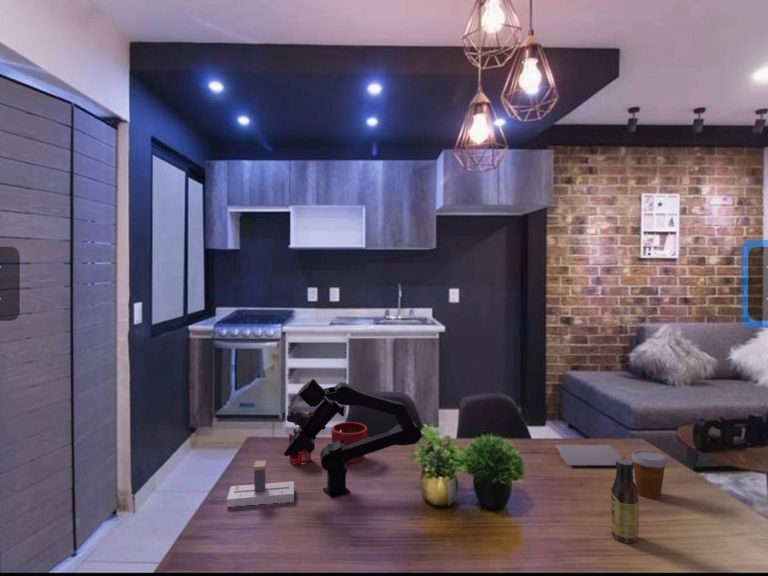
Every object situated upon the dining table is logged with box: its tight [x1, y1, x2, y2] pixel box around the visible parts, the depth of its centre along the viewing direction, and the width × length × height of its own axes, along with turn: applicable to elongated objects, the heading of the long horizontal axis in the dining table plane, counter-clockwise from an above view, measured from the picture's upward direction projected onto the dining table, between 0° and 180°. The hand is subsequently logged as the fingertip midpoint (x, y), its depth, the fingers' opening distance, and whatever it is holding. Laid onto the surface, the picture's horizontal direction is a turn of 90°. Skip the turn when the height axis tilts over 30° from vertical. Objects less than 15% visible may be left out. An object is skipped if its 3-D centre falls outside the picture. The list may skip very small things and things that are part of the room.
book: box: [554, 444, 624, 467], centre depth 176 cm, size 15×23×4 cm, turn 89°
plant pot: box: [331, 421, 368, 464], centre depth 177 cm, size 13×13×12 cm
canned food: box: [288, 427, 312, 464], centre depth 176 cm, size 8×8×11 cm
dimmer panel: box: [226, 481, 295, 508], centre depth 146 cm, size 19×9×3 cm, turn 100°
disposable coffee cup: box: [630, 449, 668, 500], centre depth 148 cm, size 10×10×12 cm
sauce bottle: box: [610, 458, 639, 544], centre depth 123 cm, size 7×6×20 cm
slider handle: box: [253, 460, 267, 492], centre depth 146 cm, size 3×5×8 cm
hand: (284, 455), depth 147 cm, fingers closed
